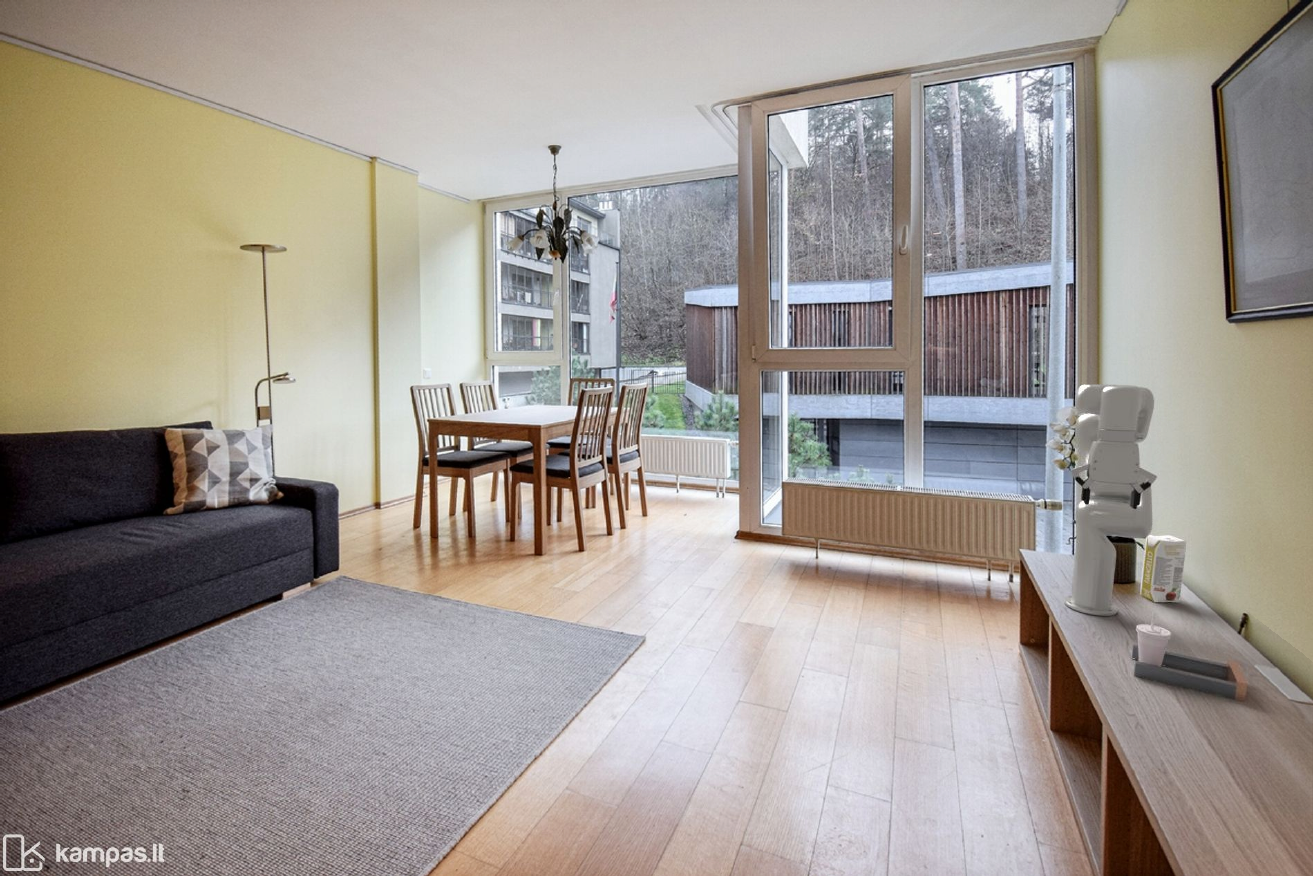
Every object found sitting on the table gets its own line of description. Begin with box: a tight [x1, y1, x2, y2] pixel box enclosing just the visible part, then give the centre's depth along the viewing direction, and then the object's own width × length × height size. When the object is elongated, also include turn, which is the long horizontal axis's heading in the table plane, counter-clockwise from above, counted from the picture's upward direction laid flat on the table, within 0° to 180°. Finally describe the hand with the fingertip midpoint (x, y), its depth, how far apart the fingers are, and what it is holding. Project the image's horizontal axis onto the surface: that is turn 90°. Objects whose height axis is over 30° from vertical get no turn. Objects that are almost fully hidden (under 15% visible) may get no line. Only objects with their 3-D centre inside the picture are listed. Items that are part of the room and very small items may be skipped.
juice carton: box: [1140, 534, 1187, 603], centre depth 187 cm, size 8×9×19 cm
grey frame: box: [1131, 644, 1248, 703], centre depth 142 cm, size 12×19×4 cm, turn 55°
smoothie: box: [1135, 611, 1172, 666], centre depth 144 cm, size 6×6×14 cm
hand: (1109, 505), depth 155 cm, fingers open, 9 cm apart
